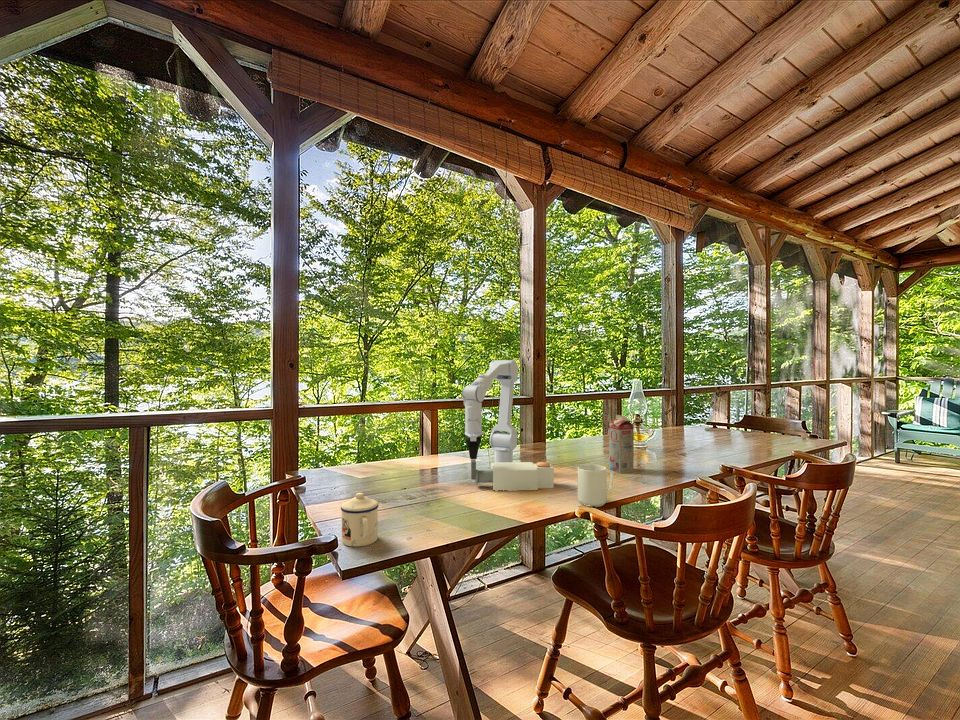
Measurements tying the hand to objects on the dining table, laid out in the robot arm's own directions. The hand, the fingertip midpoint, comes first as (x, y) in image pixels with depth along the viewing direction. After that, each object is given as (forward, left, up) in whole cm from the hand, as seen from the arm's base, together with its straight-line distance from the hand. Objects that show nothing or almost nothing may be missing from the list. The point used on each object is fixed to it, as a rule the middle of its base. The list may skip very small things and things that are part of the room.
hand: (473, 458), depth 166 cm
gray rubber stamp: (0, +5, -9) cm, 10 cm away
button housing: (0, +17, -10) cm, 20 cm away
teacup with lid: (+48, -29, -10) cm, 57 cm away
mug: (+20, +38, -10) cm, 44 cm away
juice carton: (-20, +60, -10) cm, 64 cm away
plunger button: (0, +25, -6) cm, 25 cm away
